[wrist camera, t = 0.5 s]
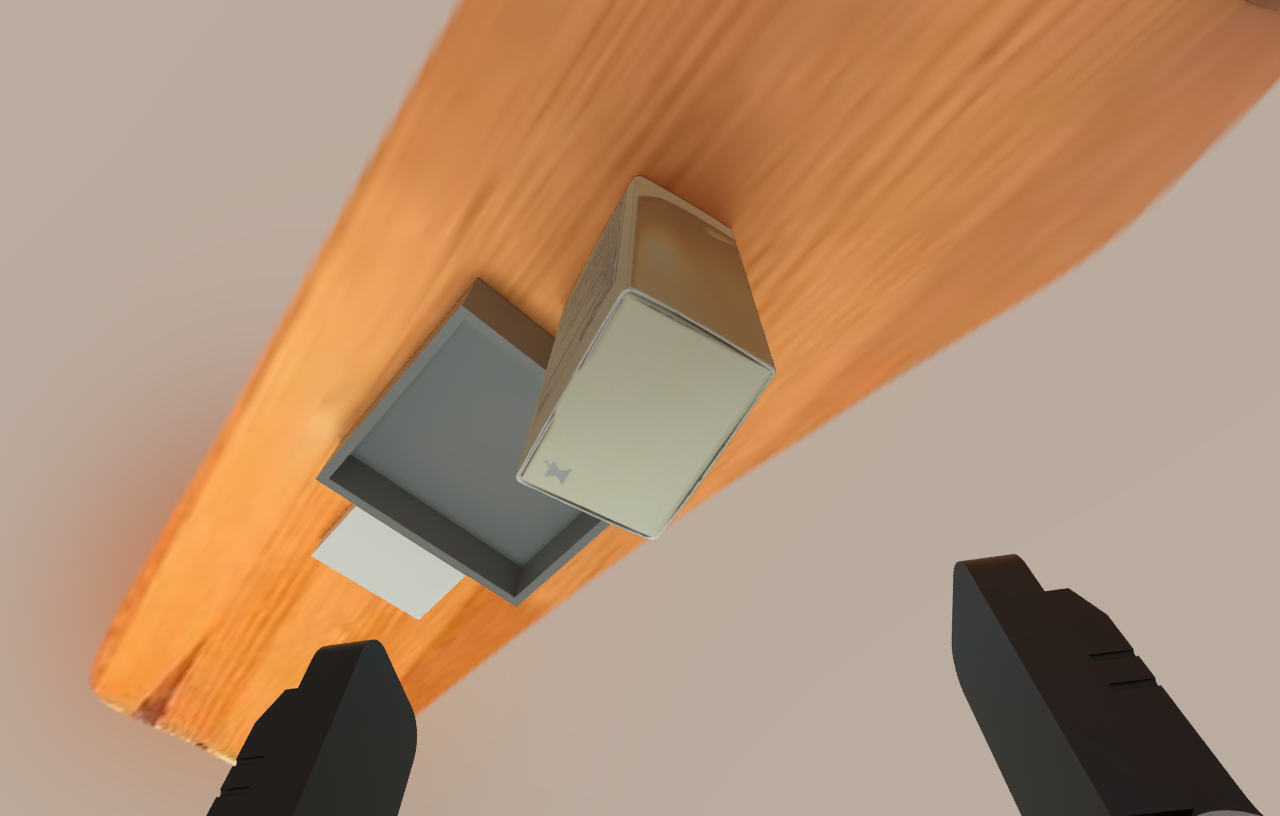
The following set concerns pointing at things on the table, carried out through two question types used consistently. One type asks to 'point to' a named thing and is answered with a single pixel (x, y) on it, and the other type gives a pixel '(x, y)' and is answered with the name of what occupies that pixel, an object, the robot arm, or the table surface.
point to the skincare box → (647, 366)
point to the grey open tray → (452, 469)
